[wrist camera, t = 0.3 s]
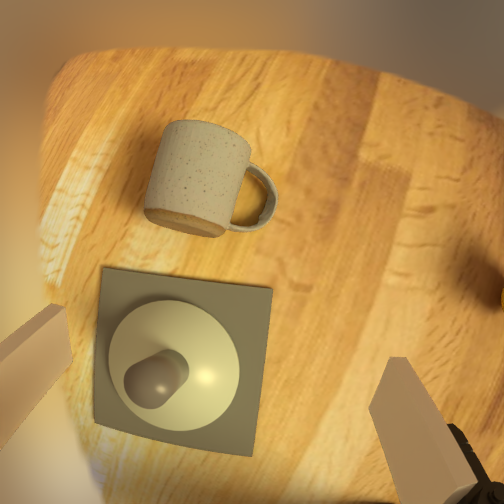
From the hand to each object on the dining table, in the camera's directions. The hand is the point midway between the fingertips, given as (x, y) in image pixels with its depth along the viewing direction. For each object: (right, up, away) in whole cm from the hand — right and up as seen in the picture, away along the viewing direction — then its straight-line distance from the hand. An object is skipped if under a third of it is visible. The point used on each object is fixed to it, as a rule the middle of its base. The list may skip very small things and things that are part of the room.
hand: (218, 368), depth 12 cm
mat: (-6, -6, +16) cm, 18 cm away
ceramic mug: (-2, +10, +18) cm, 21 cm away
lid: (-6, -6, +16) cm, 17 cm away
